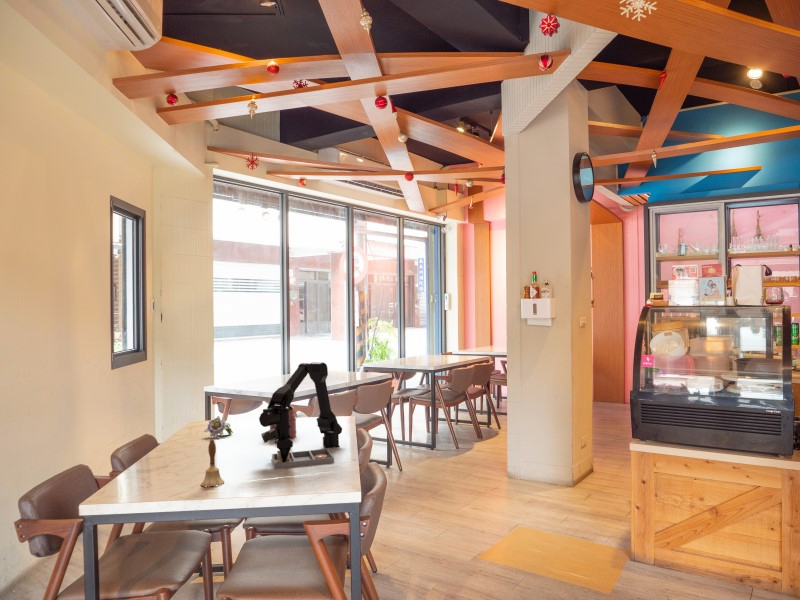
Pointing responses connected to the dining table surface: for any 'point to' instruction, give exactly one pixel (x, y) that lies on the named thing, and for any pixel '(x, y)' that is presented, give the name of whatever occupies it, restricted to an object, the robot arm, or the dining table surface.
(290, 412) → the canister
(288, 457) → the letter cube
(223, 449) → the dining table surface
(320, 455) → the peach egg shape
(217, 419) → the passion flower
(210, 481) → the hand bell
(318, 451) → the organizer tray
